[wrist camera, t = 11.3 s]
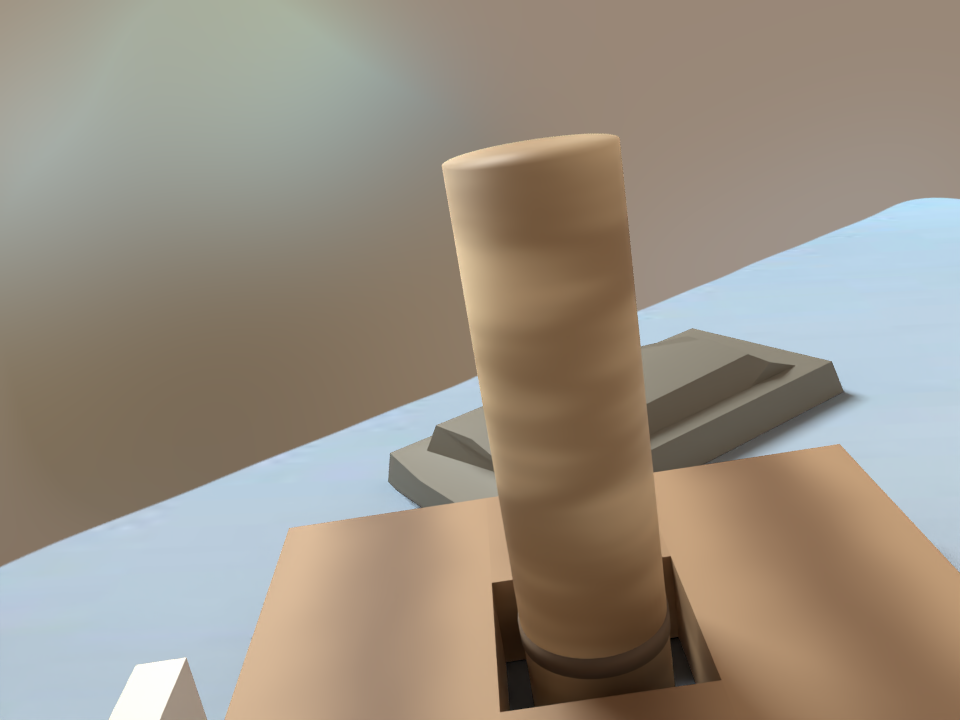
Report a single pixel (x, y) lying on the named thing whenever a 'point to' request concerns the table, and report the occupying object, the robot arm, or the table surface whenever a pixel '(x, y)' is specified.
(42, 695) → the table surface
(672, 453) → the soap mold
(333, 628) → the board
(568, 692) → the oak leg
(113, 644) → the table surface
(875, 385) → the table surface
